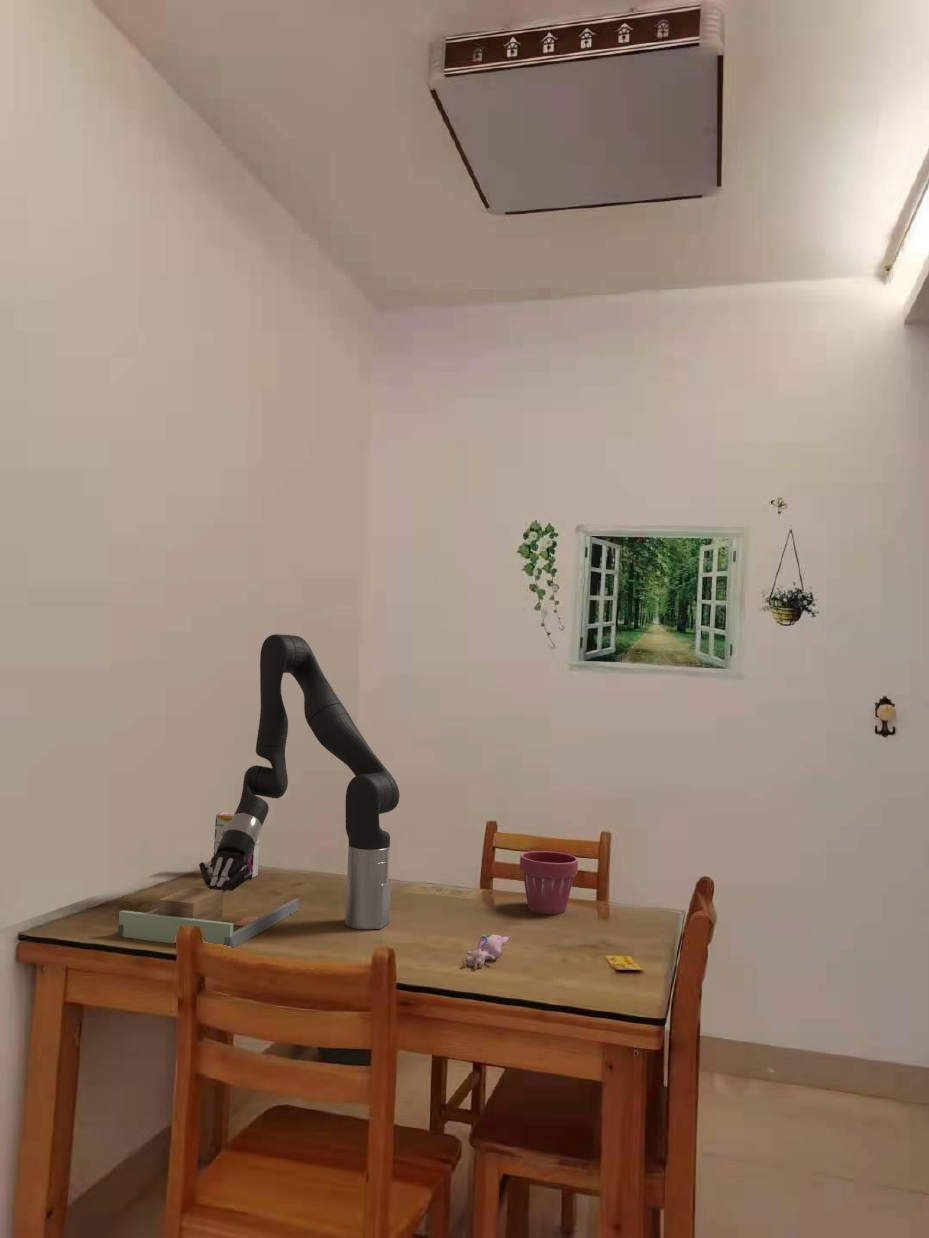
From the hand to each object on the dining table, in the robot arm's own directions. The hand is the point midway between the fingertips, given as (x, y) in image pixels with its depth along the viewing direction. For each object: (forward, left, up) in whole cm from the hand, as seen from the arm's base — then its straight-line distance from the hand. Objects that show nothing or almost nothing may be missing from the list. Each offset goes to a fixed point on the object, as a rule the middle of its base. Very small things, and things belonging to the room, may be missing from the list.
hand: (210, 904), depth 204 cm
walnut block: (+1, +7, -5) cm, 8 cm away
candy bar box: (+17, -44, -5) cm, 47 cm away
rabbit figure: (-62, +1, -5) cm, 62 cm away
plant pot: (-67, -43, -5) cm, 80 cm away
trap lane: (0, -2, -4) cm, 5 cm away
